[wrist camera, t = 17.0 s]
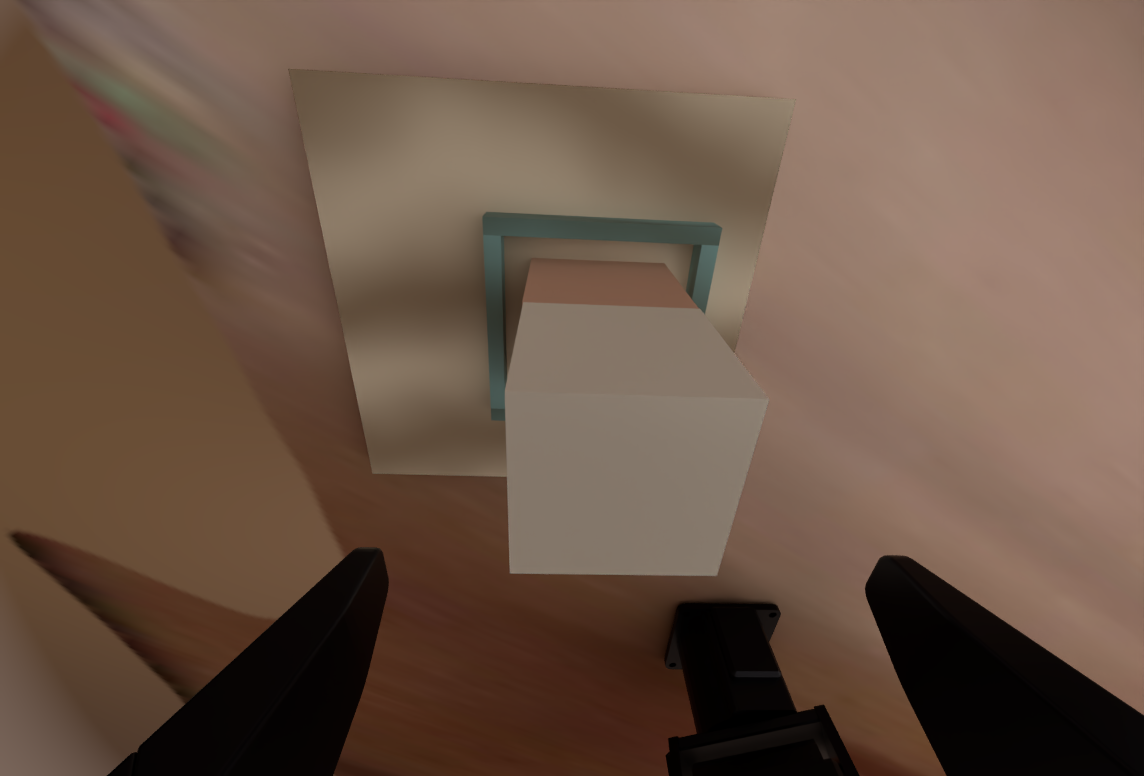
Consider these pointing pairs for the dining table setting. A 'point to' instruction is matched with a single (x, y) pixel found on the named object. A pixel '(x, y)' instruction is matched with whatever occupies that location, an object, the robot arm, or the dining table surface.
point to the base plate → (512, 228)
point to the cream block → (625, 440)
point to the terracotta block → (604, 284)
